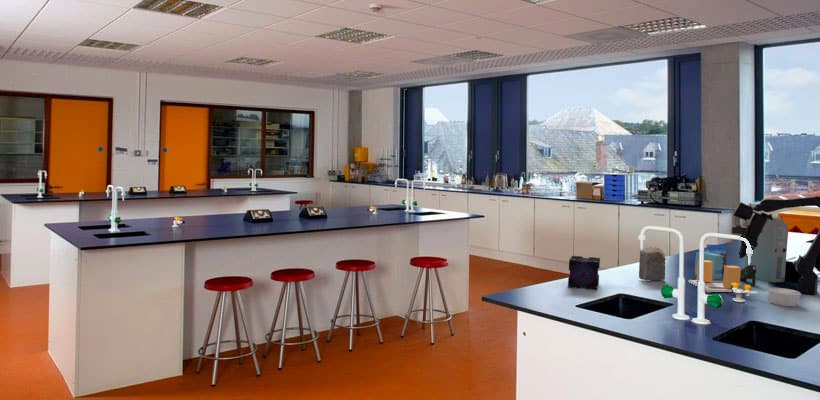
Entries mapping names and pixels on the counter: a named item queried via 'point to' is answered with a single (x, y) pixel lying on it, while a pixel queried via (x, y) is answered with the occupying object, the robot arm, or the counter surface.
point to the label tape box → (717, 252)
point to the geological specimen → (652, 264)
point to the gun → (748, 273)
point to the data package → (717, 264)
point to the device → (770, 251)
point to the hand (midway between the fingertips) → (740, 256)
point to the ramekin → (783, 296)
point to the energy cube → (584, 272)
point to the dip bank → (713, 286)
